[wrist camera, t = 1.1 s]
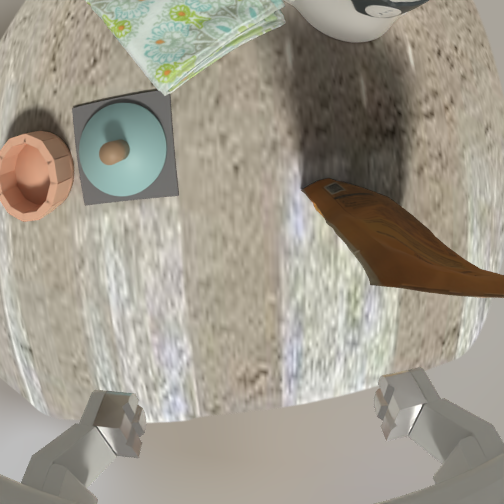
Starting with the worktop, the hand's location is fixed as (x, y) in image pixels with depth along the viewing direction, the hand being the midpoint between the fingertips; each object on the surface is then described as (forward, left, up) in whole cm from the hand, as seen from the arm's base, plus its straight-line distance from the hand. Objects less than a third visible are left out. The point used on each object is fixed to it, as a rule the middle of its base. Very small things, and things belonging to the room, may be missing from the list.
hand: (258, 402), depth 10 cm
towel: (-25, -7, -34) cm, 43 cm away
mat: (-6, -16, -34) cm, 38 cm away
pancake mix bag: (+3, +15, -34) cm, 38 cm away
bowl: (-5, -30, -34) cm, 46 cm away
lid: (-6, -16, -34) cm, 38 cm away
